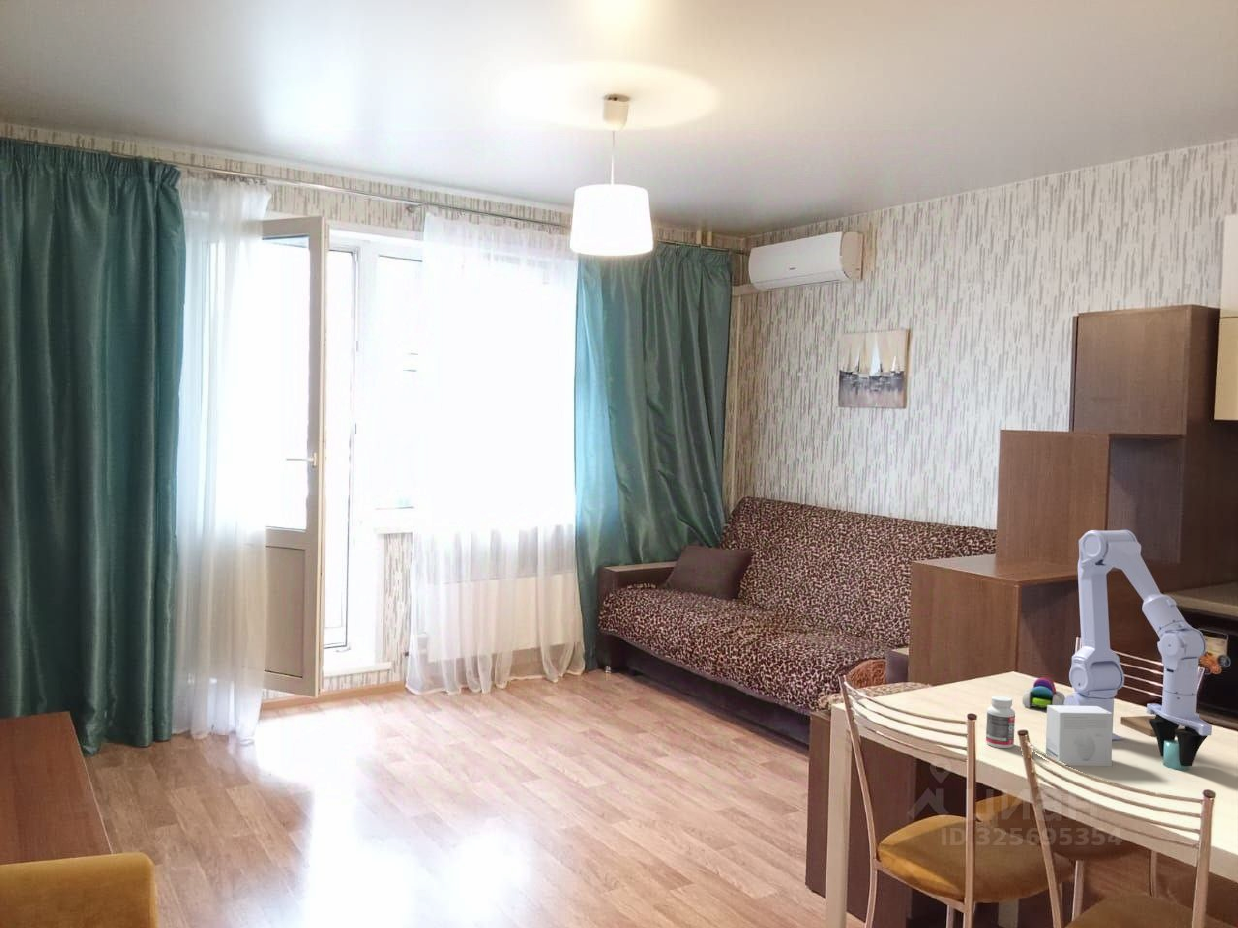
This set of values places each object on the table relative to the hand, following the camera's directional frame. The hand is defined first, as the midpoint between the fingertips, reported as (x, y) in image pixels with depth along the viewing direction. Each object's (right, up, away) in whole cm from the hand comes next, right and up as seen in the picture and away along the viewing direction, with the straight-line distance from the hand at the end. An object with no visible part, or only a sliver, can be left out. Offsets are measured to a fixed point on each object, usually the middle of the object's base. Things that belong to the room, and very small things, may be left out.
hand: (1176, 760), depth 191 cm
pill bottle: (-30, 0, +12) cm, 32 cm away
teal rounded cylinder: (0, -1, 0) cm, 2 cm away
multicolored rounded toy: (-8, 0, +40) cm, 41 cm away
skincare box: (-18, -1, +3) cm, 18 cm away
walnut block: (+8, -1, +24) cm, 26 cm away
